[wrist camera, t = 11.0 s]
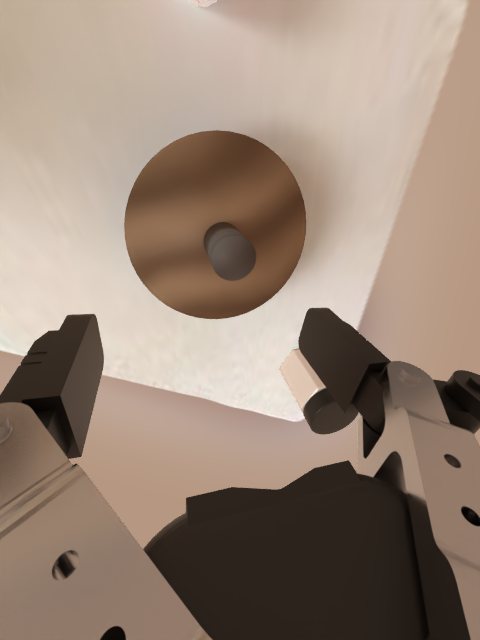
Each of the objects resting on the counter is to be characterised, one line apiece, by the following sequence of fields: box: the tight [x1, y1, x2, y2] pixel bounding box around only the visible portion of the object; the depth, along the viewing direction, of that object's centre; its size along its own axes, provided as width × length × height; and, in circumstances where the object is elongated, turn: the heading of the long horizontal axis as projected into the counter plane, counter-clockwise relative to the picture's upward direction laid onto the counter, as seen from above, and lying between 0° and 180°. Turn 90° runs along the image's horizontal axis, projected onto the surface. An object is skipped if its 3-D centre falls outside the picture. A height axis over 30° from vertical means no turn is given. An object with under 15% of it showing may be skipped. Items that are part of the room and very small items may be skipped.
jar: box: [279, 349, 359, 434], centre depth 43 cm, size 9×8×12 cm
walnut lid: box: [124, 131, 306, 319], centre depth 23 cm, size 17×17×6 cm
